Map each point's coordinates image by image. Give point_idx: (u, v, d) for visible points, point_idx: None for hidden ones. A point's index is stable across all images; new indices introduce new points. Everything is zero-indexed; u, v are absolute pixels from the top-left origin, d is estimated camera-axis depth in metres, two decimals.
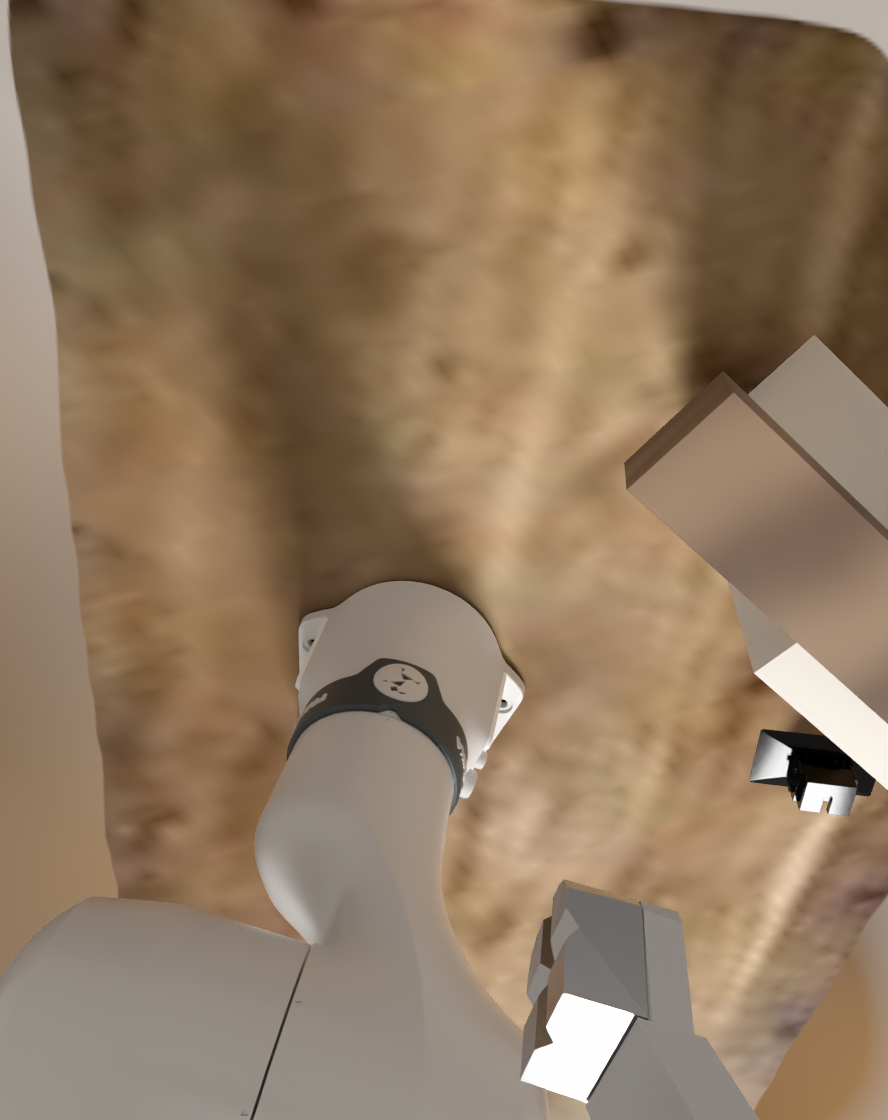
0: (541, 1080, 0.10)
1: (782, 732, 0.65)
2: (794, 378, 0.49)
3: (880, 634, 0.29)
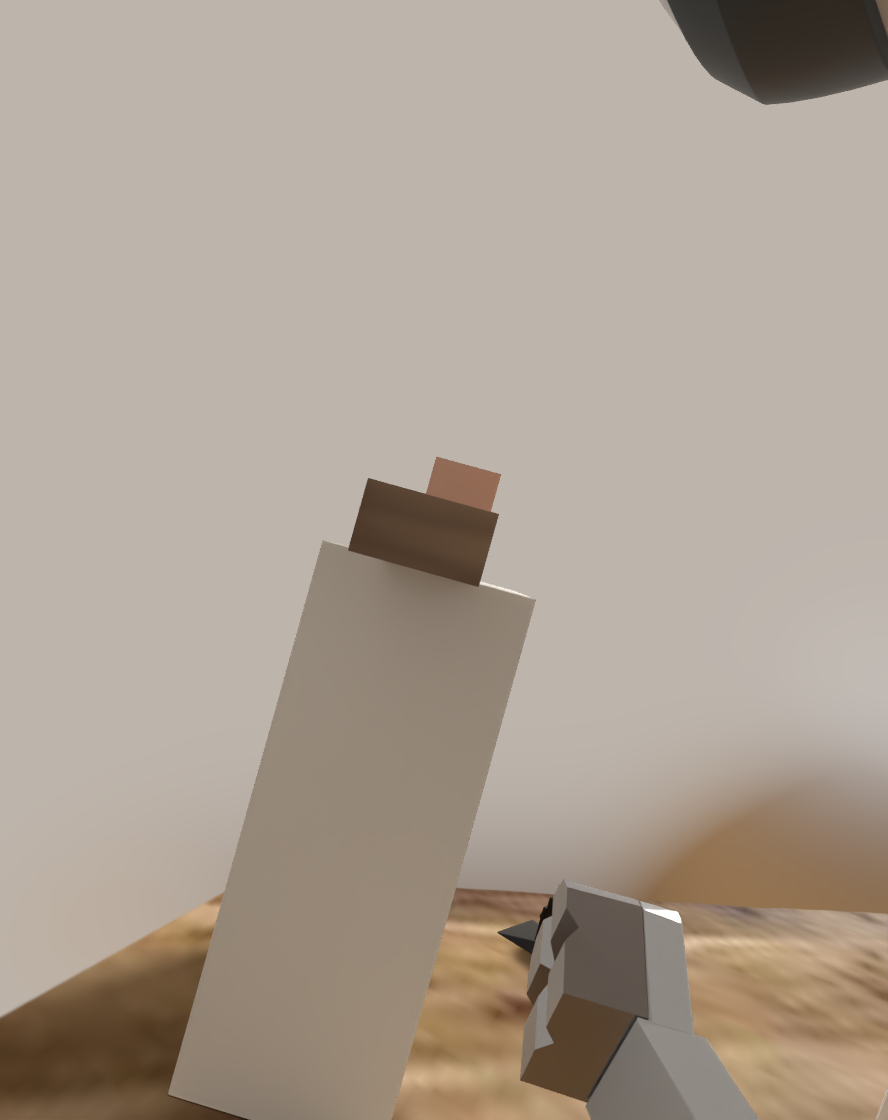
0: (541, 1080, 0.10)
1: None
2: (238, 1033, 0.37)
3: None
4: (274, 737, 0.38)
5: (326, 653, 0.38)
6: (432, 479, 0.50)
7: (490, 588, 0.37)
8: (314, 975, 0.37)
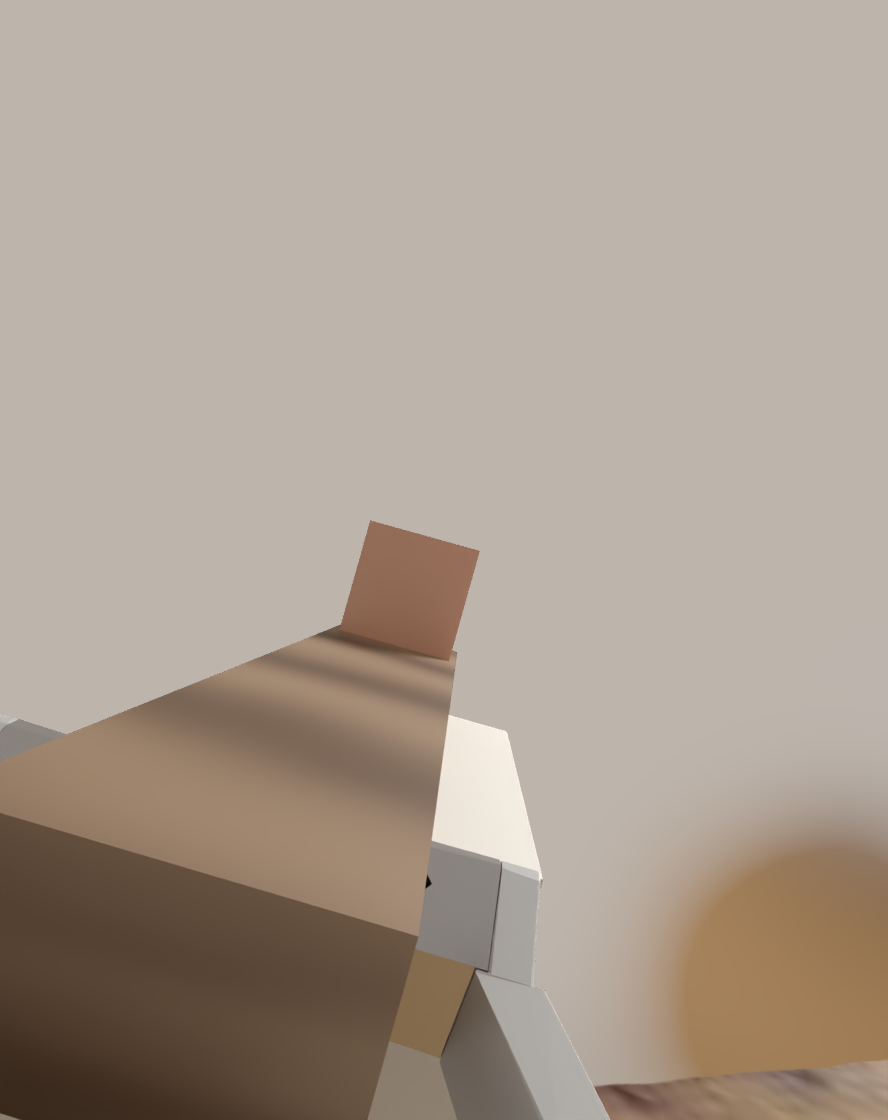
0: (394, 1036, 0.10)
1: None
2: None
3: (346, 696, 0.17)
4: None
5: None
6: (363, 559, 0.29)
7: None
8: None
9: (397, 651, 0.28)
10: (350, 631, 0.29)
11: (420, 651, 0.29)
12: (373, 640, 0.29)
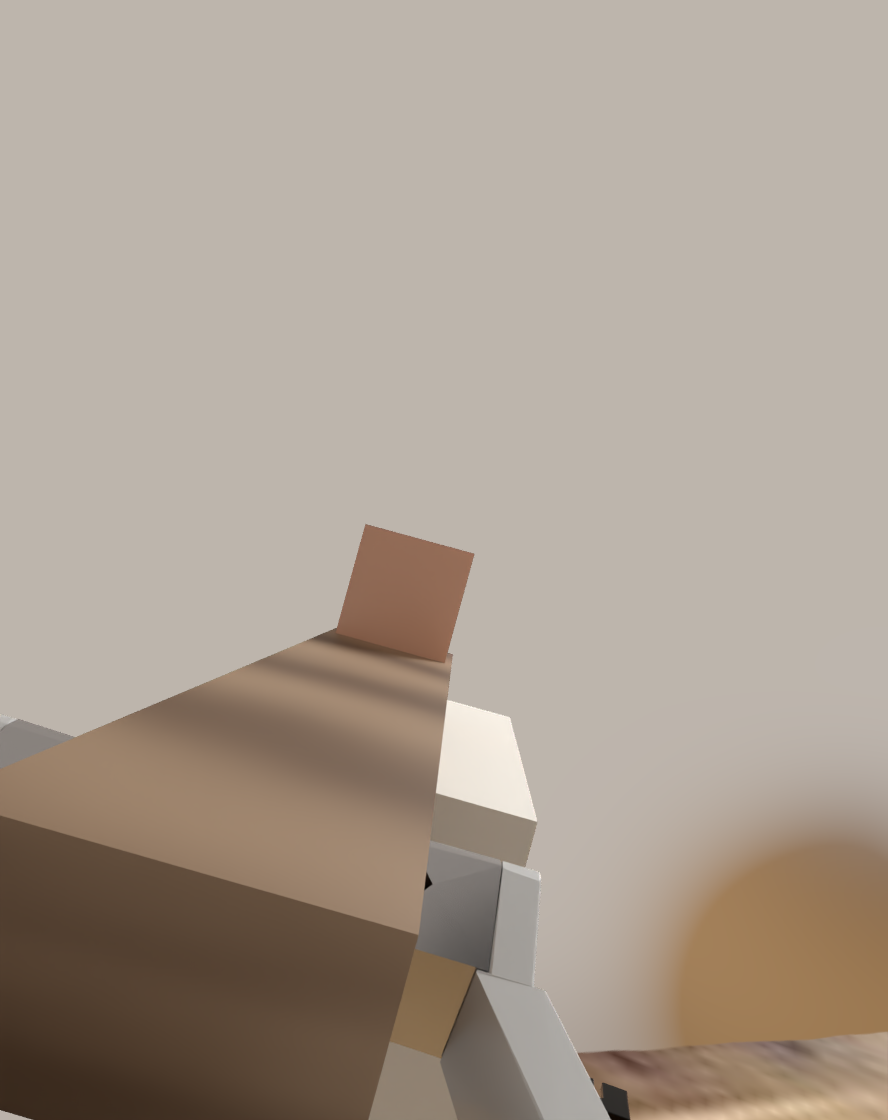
0: (395, 1037, 0.10)
1: None
2: None
3: (344, 699, 0.17)
4: None
5: None
6: (359, 562, 0.29)
7: (459, 802, 0.22)
8: None
9: (393, 654, 0.28)
10: (346, 634, 0.29)
11: (416, 654, 0.29)
12: (369, 643, 0.29)
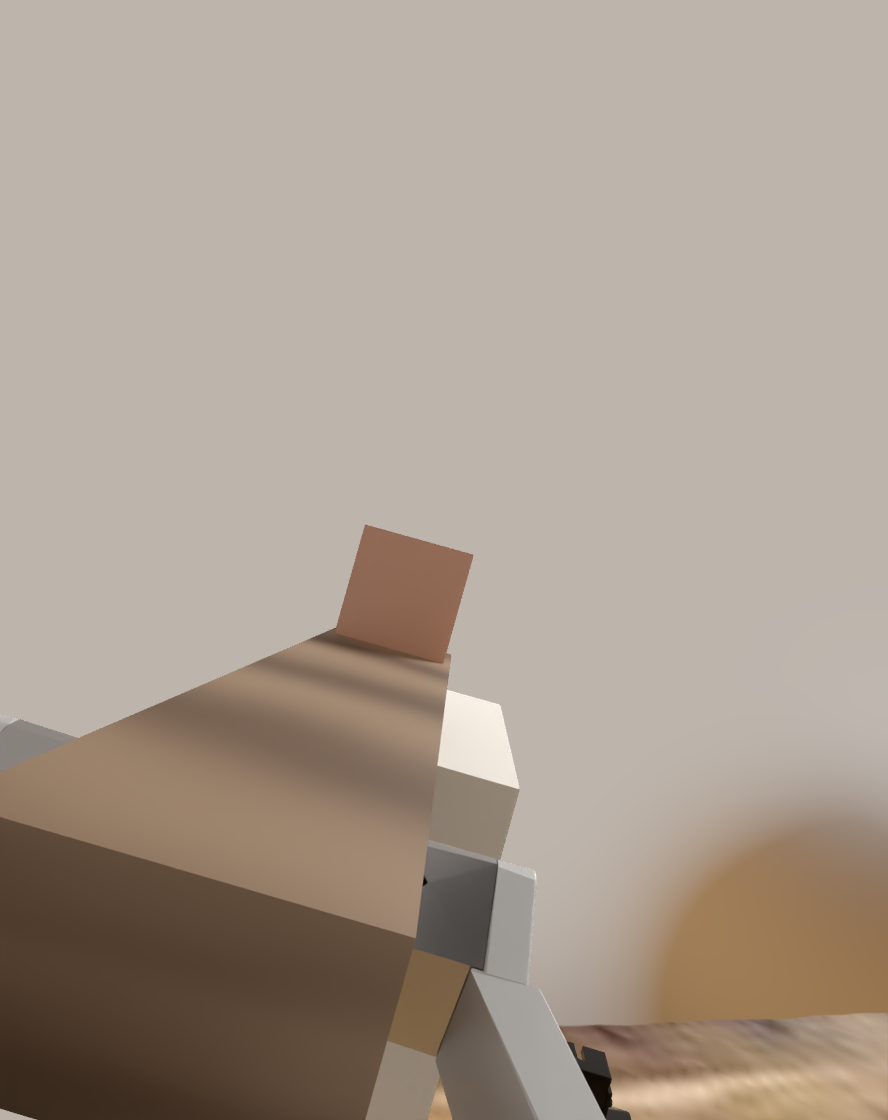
0: (391, 1034, 0.10)
1: None
2: None
3: (342, 701, 0.17)
4: None
5: None
6: (358, 562, 0.30)
7: (452, 771, 0.25)
8: None
9: (392, 654, 0.28)
10: (345, 634, 0.30)
11: (414, 654, 0.29)
12: (368, 643, 0.29)
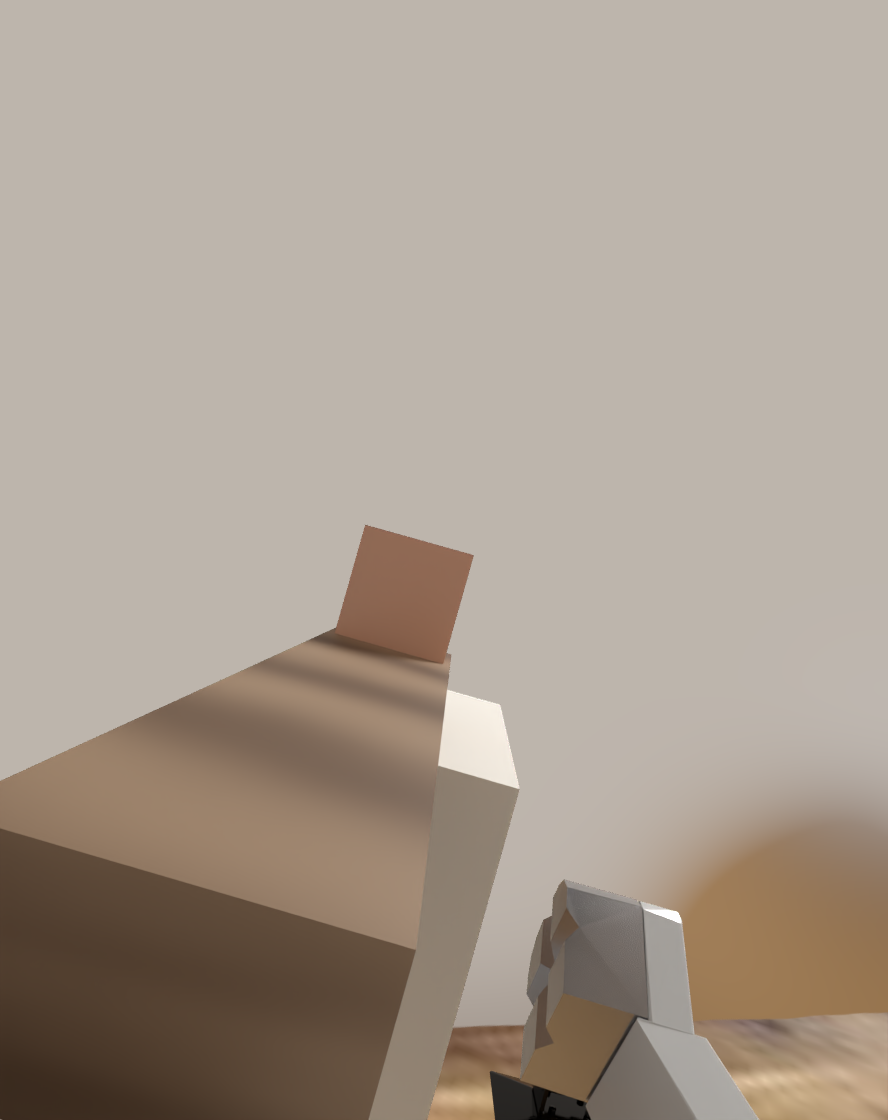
0: (541, 1080, 0.10)
1: None
2: None
3: (343, 704, 0.17)
4: None
5: None
6: (358, 563, 0.30)
7: (451, 771, 0.25)
8: None
9: (392, 655, 0.28)
10: (345, 635, 0.30)
11: (415, 654, 0.29)
12: (368, 644, 0.29)
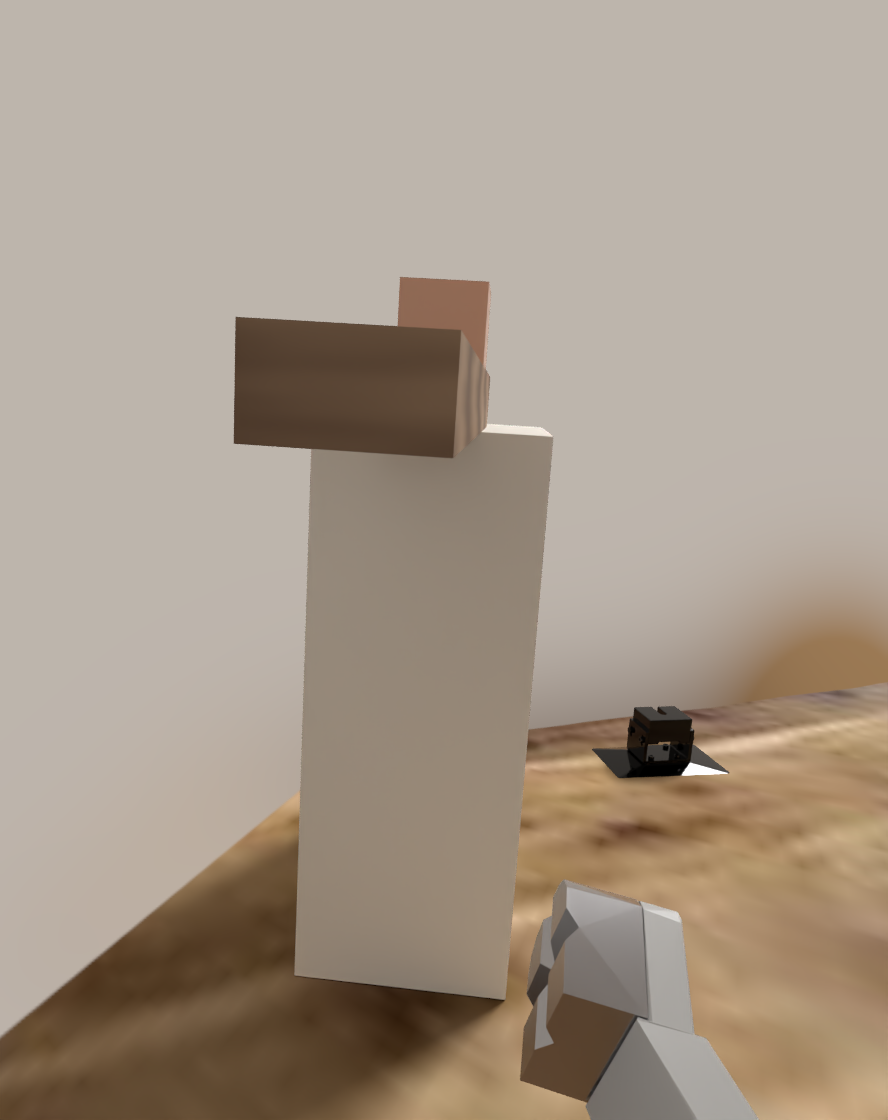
0: (541, 1080, 0.10)
1: (709, 772, 0.65)
2: (346, 913, 0.39)
3: None
4: (312, 634, 0.36)
5: (343, 539, 0.35)
6: (401, 308, 0.38)
7: (501, 434, 0.34)
8: (405, 850, 0.38)
9: None
10: None
11: None
12: None
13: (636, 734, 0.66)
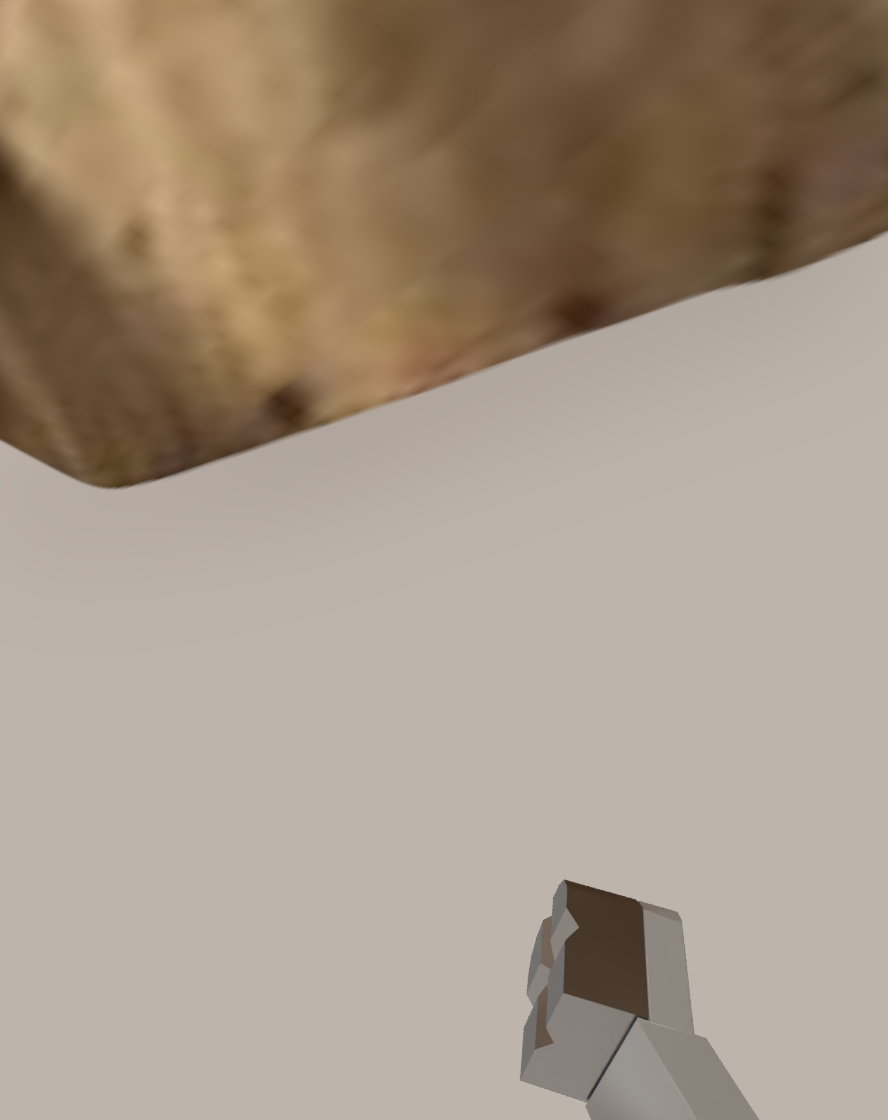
0: (541, 1080, 0.10)
1: None
2: None
3: None
4: None
5: None
6: None
7: None
8: None
9: None
10: None
11: None
12: None
13: None
